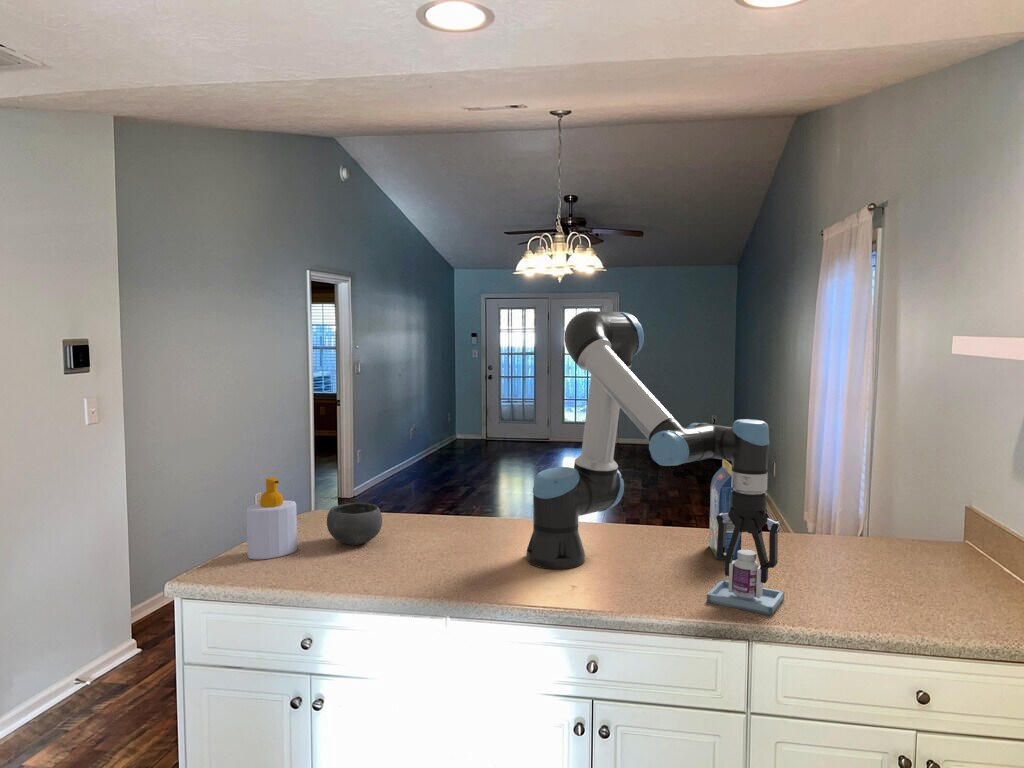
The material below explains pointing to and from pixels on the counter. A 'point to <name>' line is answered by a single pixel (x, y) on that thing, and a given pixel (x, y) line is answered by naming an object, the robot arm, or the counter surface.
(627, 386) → the robot arm
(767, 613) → the tray
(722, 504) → the blue food package
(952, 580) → the counter surface
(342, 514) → the bowl
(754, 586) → the pill bottle
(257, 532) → the soap bottle
